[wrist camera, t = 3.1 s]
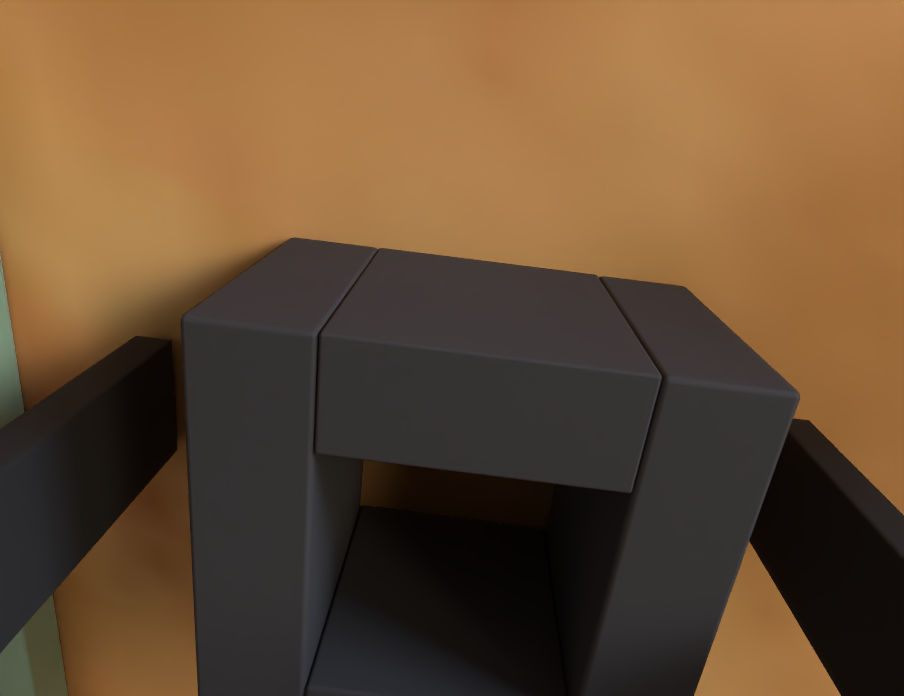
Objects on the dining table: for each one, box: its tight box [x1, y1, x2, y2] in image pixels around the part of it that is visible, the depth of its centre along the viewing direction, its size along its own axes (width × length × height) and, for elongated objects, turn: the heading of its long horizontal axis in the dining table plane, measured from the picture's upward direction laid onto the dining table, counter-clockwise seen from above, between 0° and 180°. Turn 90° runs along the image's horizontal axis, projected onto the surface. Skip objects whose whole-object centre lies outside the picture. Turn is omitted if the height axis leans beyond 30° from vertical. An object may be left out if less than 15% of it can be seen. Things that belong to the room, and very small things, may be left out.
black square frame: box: [181, 238, 800, 696], centre depth 12 cm, size 8×8×5 cm
